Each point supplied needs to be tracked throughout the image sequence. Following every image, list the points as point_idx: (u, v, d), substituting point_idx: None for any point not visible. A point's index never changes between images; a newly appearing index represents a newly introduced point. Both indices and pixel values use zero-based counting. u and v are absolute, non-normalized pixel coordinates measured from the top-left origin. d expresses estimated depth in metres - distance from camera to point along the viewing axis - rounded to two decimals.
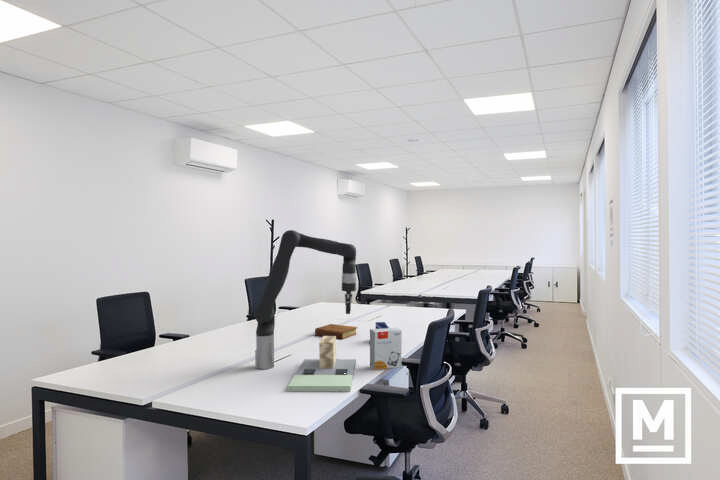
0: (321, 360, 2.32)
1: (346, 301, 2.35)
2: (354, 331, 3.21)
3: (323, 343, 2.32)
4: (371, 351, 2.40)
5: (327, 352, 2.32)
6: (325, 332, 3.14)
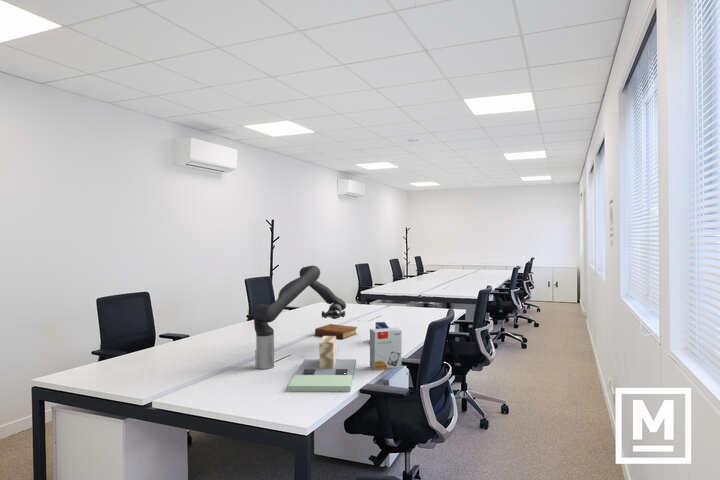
0: (321, 360, 2.32)
1: (344, 313, 2.64)
2: (354, 331, 3.21)
3: (323, 343, 2.32)
4: (371, 351, 2.40)
5: (327, 352, 2.32)
6: (325, 332, 3.14)
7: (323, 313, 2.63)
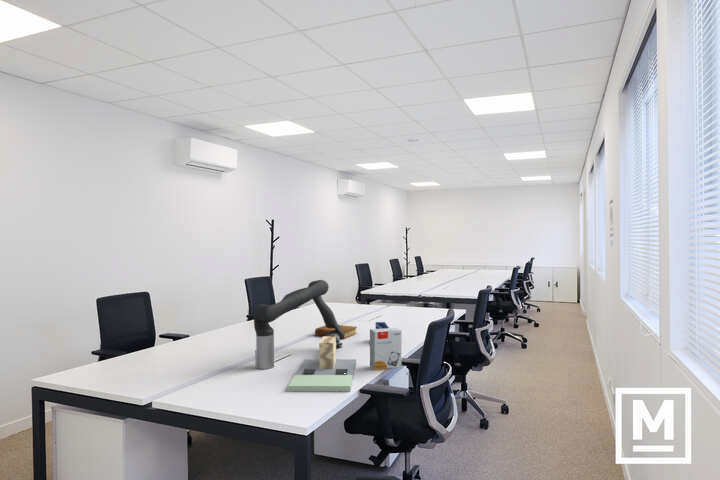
0: (321, 360, 2.31)
1: (338, 345, 2.52)
2: (354, 331, 3.22)
3: (323, 343, 2.31)
4: (371, 351, 2.40)
5: (327, 352, 2.31)
6: (326, 332, 3.14)
7: None
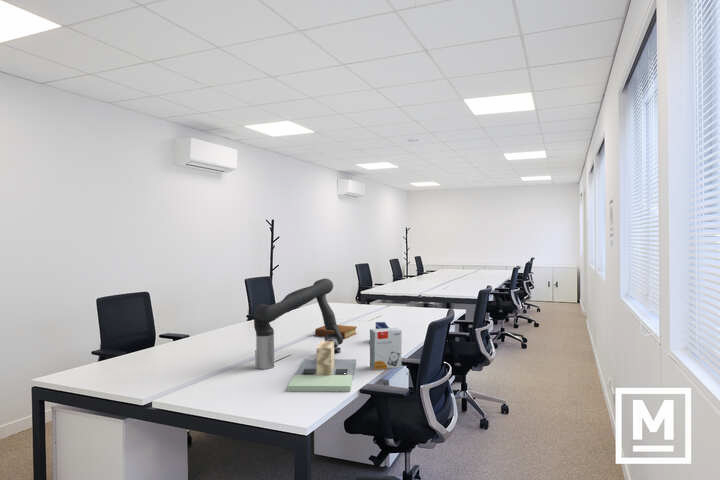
0: (318, 367, 2.21)
1: (336, 350, 2.41)
2: (354, 331, 3.22)
3: (320, 349, 2.20)
4: (371, 351, 2.40)
5: (325, 358, 2.20)
6: (326, 332, 3.14)
7: None
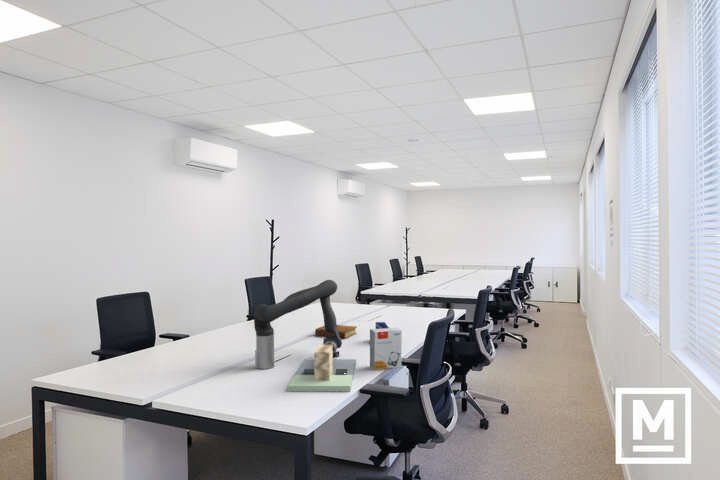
0: (316, 372, 2.13)
1: (334, 353, 2.33)
2: (354, 331, 3.23)
3: (318, 353, 2.12)
4: (371, 351, 2.40)
5: (323, 363, 2.12)
6: (326, 332, 3.13)
7: None
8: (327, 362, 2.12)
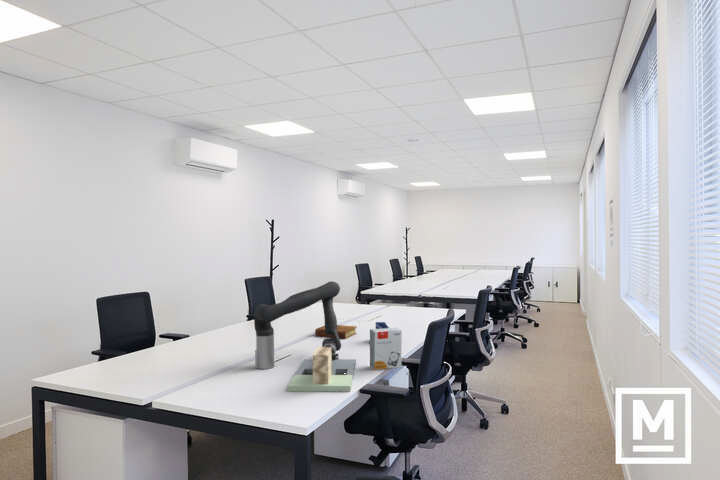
0: (314, 375, 2.08)
1: (333, 356, 2.28)
2: (354, 330, 3.23)
3: (317, 356, 2.08)
4: (371, 351, 2.40)
5: (321, 366, 2.08)
6: None
7: None
8: (326, 365, 2.07)
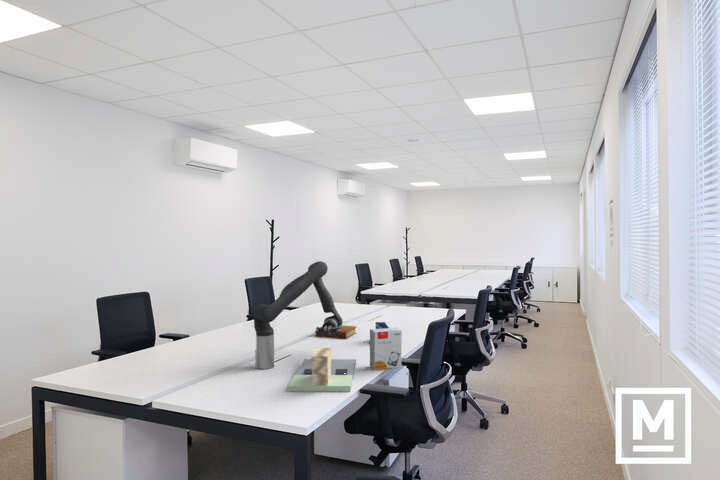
0: (314, 376, 2.06)
1: (335, 329, 2.38)
2: (354, 330, 3.24)
3: (316, 357, 2.06)
4: (371, 351, 2.40)
5: (321, 367, 2.06)
6: None
7: (322, 329, 2.37)
8: (325, 366, 2.06)
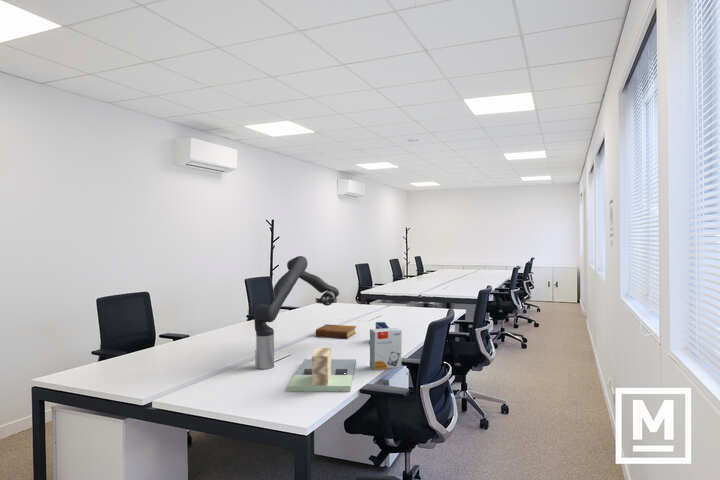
0: (314, 376, 2.06)
1: (332, 299, 2.63)
2: (354, 330, 3.24)
3: (316, 357, 2.06)
4: (371, 351, 2.40)
5: (321, 367, 2.06)
6: (327, 332, 3.13)
7: (321, 299, 2.62)
8: (325, 366, 2.06)
